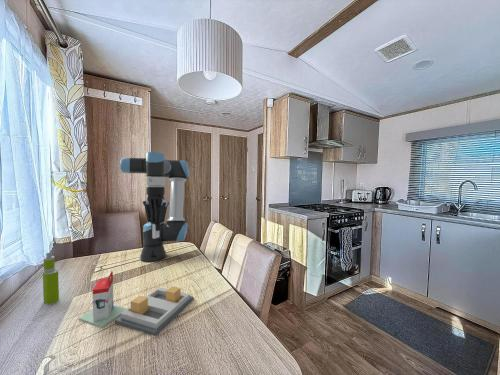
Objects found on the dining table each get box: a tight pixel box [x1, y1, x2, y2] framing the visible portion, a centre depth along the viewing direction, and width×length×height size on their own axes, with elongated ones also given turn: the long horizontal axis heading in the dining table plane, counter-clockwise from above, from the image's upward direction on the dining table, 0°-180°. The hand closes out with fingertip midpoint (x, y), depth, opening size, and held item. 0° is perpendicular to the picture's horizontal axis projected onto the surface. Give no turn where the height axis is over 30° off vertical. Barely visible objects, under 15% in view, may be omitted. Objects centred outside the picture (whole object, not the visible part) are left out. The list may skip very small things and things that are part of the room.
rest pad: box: [78, 304, 127, 328], centre depth 79 cm, size 10×12×1 cm
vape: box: [42, 252, 60, 306], centre depth 86 cm, size 4×6×20 cm, turn 62°
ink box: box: [92, 270, 114, 322], centre depth 78 cm, size 8×5×15 cm, turn 24°
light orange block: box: [130, 295, 148, 315], centre depth 78 cm, size 4×4×5 cm
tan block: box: [166, 286, 181, 303], centre depth 85 cm, size 4×4×5 cm
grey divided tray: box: [114, 287, 195, 337], centre depth 82 cm, size 22×18×3 cm
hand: (155, 237), depth 96 cm, fingers closed
